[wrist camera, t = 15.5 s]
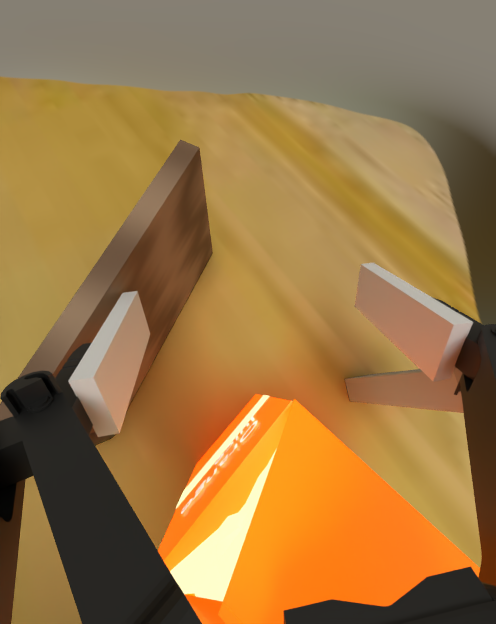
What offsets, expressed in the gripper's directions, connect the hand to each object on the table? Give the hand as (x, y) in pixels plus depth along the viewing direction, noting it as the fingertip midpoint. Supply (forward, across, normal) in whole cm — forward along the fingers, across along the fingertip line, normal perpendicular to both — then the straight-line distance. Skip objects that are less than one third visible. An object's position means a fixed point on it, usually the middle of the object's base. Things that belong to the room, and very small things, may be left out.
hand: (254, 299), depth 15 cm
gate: (+8, -8, -6) cm, 13 cm away
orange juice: (0, 0, -16) cm, 16 cm away
